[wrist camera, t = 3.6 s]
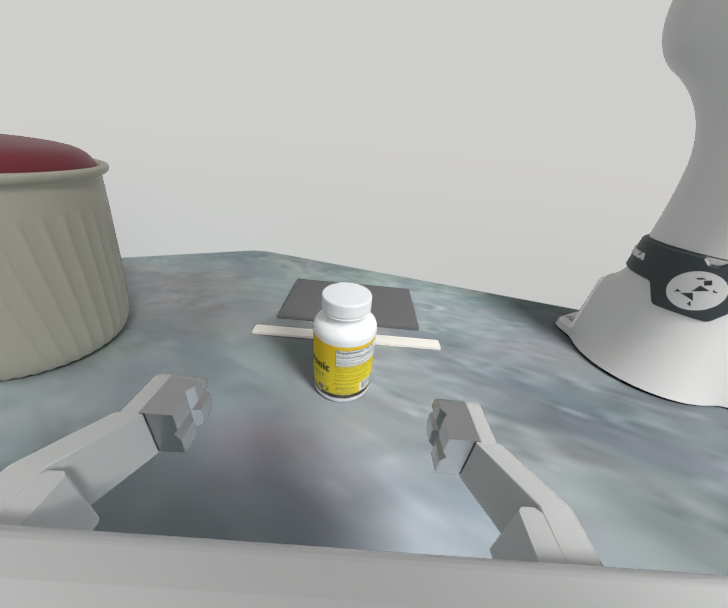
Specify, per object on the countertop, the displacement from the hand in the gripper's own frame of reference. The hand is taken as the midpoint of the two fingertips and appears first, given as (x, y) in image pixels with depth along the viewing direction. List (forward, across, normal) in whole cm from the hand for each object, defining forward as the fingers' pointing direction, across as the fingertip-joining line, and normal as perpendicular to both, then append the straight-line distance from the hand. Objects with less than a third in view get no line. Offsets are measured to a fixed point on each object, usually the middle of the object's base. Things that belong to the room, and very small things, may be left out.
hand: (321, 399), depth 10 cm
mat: (+28, 0, +12) cm, 30 cm away
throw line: (+20, 0, +12) cm, 23 cm away
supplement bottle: (+12, 0, +12) cm, 17 cm away
